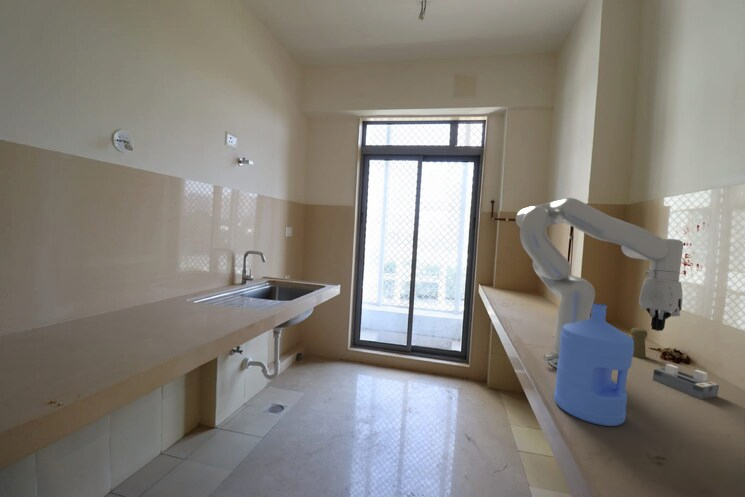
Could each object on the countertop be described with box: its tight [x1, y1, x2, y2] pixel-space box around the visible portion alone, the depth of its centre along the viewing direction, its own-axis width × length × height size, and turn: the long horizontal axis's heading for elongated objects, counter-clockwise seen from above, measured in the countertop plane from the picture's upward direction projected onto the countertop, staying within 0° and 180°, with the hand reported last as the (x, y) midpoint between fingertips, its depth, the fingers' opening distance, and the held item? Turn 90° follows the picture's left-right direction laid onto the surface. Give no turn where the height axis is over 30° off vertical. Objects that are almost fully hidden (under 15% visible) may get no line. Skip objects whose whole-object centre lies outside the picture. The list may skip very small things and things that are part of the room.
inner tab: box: [664, 363, 680, 377], centre depth 103 cm, size 2×2×4 cm
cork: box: [630, 327, 648, 359], centre depth 129 cm, size 6×6×11 cm
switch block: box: [652, 367, 720, 400], centre depth 102 cm, size 8×12×4 cm, turn 19°
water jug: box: [553, 303, 634, 427], centre depth 84 cm, size 16×16×28 cm
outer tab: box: [692, 369, 709, 383], centre depth 100 cm, size 2×2×4 cm
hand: (657, 329), depth 108 cm, fingers closed
